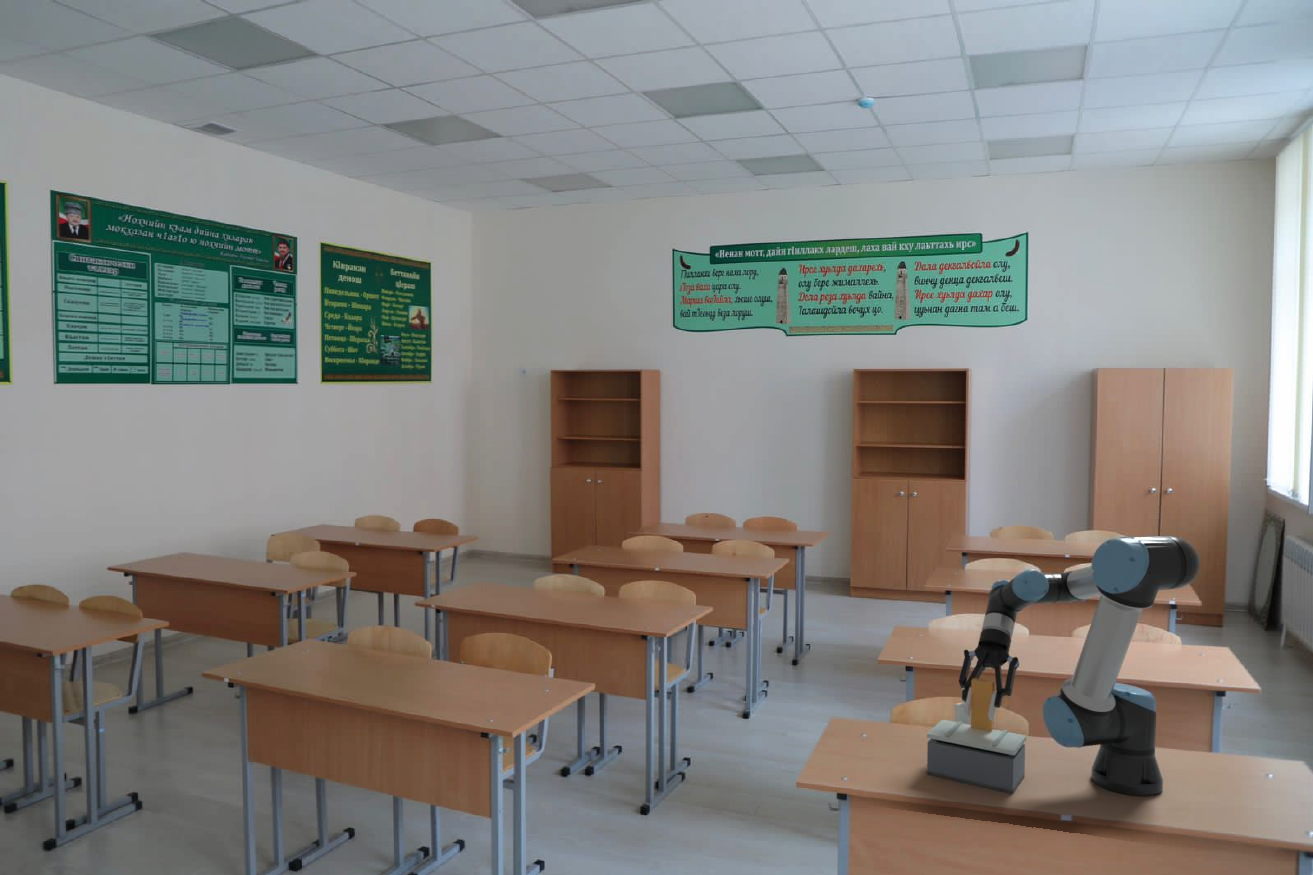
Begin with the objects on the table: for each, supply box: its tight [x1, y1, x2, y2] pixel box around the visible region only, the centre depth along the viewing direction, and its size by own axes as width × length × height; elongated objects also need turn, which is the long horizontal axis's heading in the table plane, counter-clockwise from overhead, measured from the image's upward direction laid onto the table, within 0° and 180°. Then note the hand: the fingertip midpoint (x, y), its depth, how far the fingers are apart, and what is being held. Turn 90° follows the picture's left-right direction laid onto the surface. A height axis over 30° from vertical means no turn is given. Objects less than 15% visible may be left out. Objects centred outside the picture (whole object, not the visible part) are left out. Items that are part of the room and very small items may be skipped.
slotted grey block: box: [926, 678, 1028, 755], centre depth 222 cm, size 20×12×14 cm, turn 56°
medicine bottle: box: [953, 688, 971, 725], centre depth 253 cm, size 7×7×12 cm
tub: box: [926, 738, 1026, 795], centre depth 222 cm, size 20×12×8 cm, turn 56°
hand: (978, 715), depth 223 cm, fingers closed on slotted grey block, 5 cm apart
